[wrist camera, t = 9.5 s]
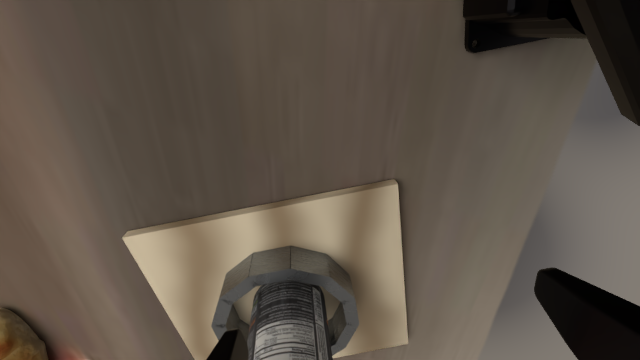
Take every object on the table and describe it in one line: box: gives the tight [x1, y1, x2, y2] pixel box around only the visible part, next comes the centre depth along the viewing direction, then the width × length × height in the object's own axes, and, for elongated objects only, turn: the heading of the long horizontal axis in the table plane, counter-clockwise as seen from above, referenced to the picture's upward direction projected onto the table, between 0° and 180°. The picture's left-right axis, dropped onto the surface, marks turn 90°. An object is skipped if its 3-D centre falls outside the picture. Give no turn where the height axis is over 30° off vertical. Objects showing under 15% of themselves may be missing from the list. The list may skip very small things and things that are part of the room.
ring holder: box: [122, 179, 408, 360], centre depth 24 cm, size 20×18×3 cm
